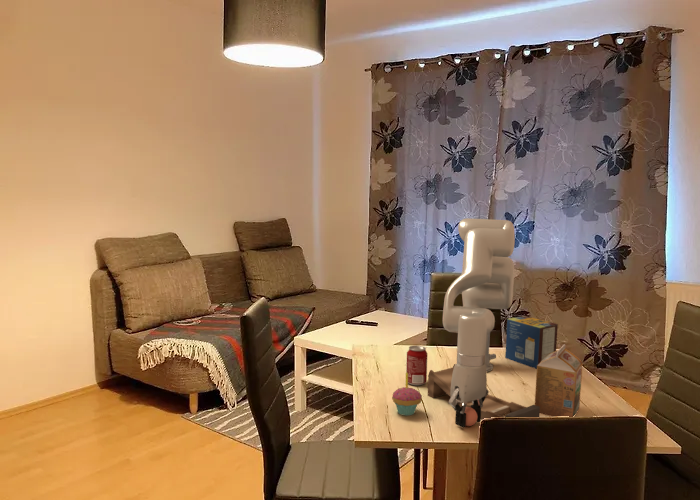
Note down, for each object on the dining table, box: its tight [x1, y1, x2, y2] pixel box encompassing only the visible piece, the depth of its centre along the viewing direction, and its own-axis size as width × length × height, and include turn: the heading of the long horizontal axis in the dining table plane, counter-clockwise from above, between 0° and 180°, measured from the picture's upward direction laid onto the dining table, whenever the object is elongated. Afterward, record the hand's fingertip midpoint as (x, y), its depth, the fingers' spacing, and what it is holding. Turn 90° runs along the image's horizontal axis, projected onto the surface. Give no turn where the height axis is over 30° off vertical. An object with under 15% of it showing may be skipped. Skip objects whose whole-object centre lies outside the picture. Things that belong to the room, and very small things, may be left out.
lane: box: [427, 363, 540, 420], centre depth 167 cm, size 32×12×8 cm, turn 37°
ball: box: [464, 407, 478, 427], centre depth 155 cm, size 5×5×5 cm
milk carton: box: [534, 343, 584, 417], centre depth 166 cm, size 11×10×19 cm
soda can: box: [405, 345, 428, 387], centre depth 187 cm, size 7×7×12 cm
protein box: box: [504, 315, 559, 370], centre depth 212 cm, size 10×15×16 cm
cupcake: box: [391, 369, 423, 416], centre depth 163 cm, size 9×8×12 cm
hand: (467, 422), depth 156 cm, fingers open, 5 cm apart
